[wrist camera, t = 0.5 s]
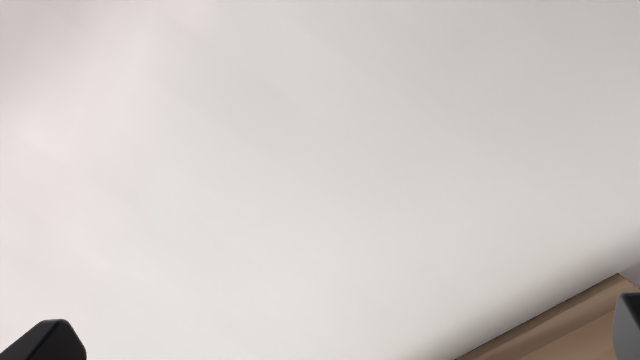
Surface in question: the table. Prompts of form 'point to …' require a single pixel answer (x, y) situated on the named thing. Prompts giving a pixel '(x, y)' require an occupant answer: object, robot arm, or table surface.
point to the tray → (563, 329)
